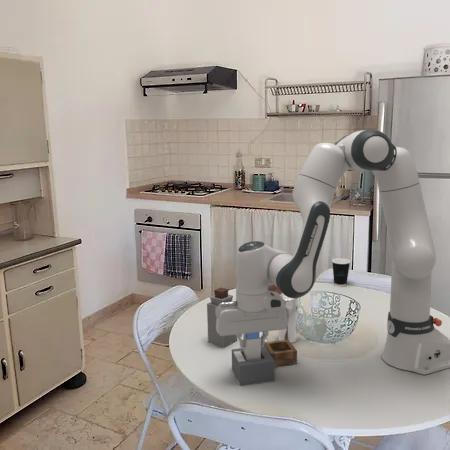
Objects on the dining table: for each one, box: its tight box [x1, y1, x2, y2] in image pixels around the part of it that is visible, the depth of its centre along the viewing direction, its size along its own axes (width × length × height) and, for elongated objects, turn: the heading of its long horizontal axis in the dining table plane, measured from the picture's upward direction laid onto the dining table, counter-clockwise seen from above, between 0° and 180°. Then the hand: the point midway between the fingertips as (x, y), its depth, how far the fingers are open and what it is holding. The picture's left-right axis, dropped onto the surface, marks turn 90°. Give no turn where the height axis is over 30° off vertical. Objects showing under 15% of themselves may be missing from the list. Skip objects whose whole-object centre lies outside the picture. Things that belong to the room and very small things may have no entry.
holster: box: [265, 340, 298, 367], centre depth 150 cm, size 8×8×4 cm
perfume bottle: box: [206, 287, 238, 349], centre depth 161 cm, size 7×7×18 cm
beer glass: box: [277, 293, 299, 344], centre depth 162 cm, size 7×7×15 cm
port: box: [231, 345, 276, 386], centre depth 141 cm, size 10×10×6 cm
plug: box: [242, 332, 261, 361], centre depth 140 cm, size 4×4×12 cm
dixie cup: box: [331, 257, 352, 288], centre depth 213 cm, size 8×8×11 cm
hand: (252, 345), depth 140 cm, fingers closed on plug, 4 cm apart
